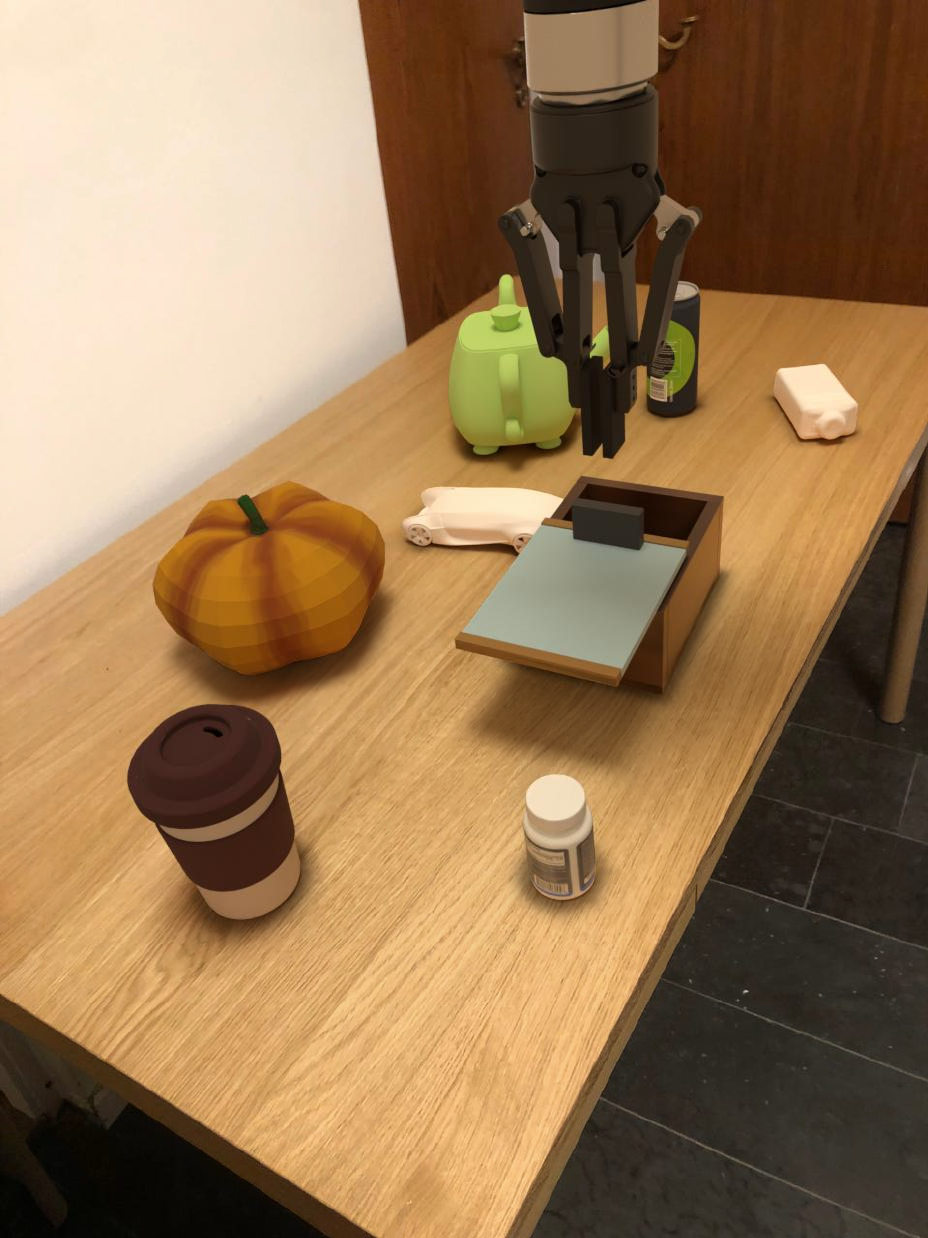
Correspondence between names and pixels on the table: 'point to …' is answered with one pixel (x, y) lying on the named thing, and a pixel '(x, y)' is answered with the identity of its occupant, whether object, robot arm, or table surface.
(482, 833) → the table surface
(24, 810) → the table surface
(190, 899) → the table surface
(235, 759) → the coffee cup
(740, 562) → the table surface
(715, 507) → the case
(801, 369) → the white bottle
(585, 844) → the pill bottle
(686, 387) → the beverage can
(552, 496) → the toy car
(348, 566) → the decorative pumpkin
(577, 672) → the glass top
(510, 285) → the teapot
